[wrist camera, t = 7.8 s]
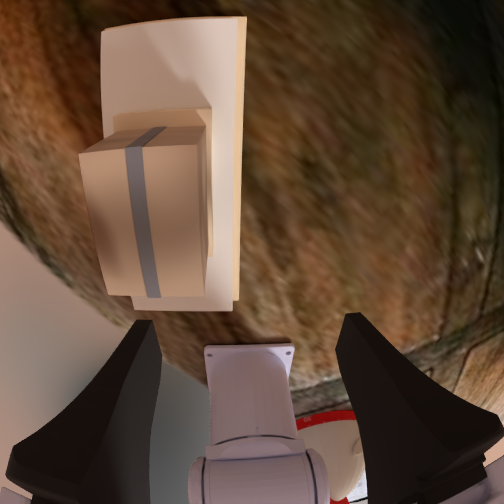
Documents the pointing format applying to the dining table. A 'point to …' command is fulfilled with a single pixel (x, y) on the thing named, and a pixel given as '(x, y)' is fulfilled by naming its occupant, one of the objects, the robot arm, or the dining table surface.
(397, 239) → the dining table surface
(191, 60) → the dock
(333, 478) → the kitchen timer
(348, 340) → the robot arm
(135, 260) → the taped parcel
